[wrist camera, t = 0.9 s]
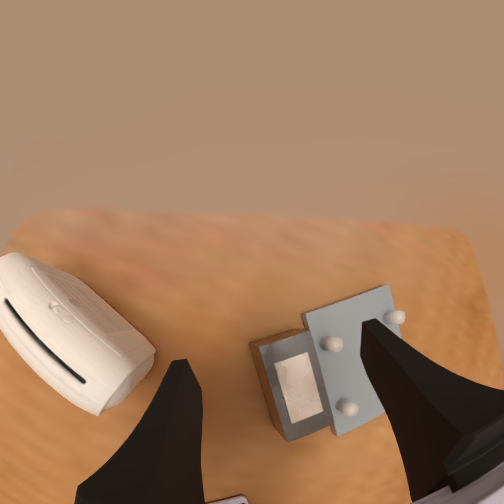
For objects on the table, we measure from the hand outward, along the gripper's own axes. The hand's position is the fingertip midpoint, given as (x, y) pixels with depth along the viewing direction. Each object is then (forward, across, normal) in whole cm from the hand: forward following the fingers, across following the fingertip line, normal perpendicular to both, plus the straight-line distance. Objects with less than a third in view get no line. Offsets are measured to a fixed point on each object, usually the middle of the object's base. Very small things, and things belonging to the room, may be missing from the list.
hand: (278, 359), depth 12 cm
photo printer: (+10, +13, +4) cm, 17 cm away
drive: (+8, 0, +12) cm, 14 cm away
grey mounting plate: (+9, -8, +13) cm, 18 cm away
